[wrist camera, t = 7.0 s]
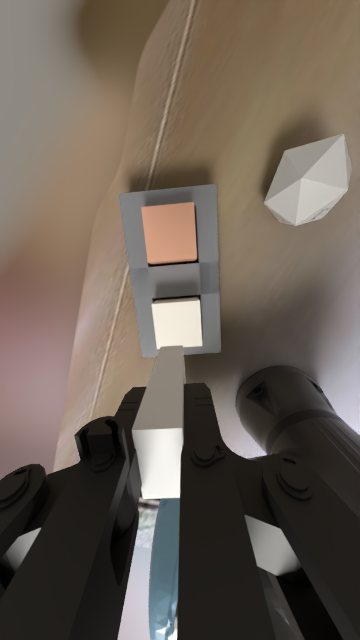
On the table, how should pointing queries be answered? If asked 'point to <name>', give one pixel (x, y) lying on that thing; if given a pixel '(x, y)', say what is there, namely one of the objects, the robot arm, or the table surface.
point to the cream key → (177, 322)
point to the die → (310, 181)
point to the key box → (175, 277)
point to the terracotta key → (170, 233)
